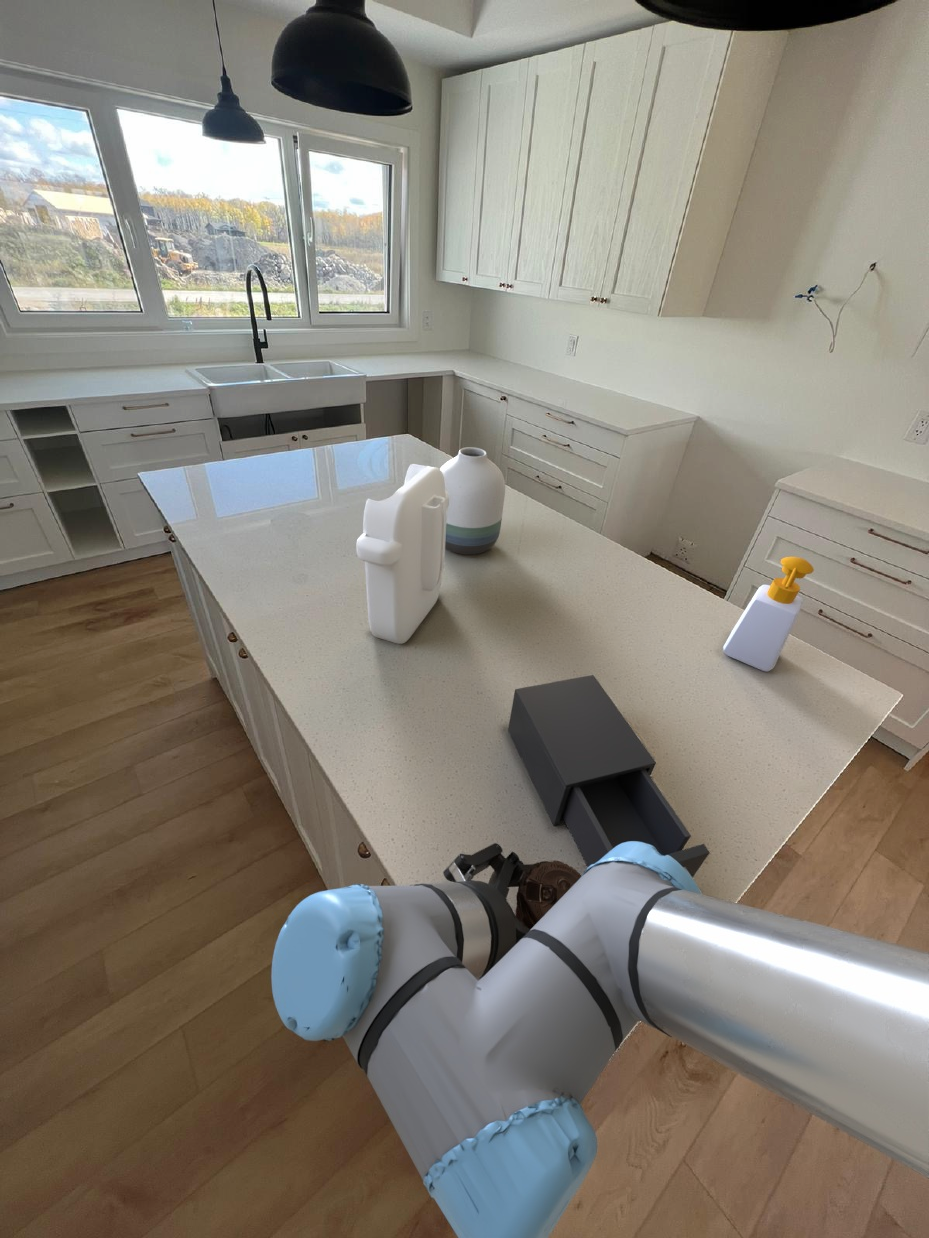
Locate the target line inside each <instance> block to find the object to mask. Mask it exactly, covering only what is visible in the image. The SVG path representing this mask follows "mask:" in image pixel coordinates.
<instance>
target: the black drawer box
mask: <svg viewBox="0 0 929 1238" xmlns="http://www.w3.org/2000/svg"><path fill="white" fill-rule="evenodd" d="M512 699H513V700H512V705H511V710H510V716H509V721H508V727H507V731H508V734H509V736H510V738H511V740H512V743H513V744H514V746H515V748H516V751H517V752H518V754H519V756H520V759H521V762H522V763H523V765H524V767H525V769H526V771H527V773H528V776H529V777H530V780H531V782H532V783H533V786H534V788H535V790H536V792H537V794H538V796H539V799H540V801H541V803H542V805H543V807H544V809H545V811H546V813H547V815H548V817H549V820H550V821H551V823H552V826H553V827H554V826H559V825H563V824H566V823H565V821H564V819H563V817H562V812H563V809H564V806H565V803H566V800H567V797H568V794H569V791H570V787H574V786H578V785H582V784H586V783H590V782H594V781H598V780H602V779H606V778H610V777H614V776H618V775H622V774H626V773H630V772H634V771H638V770H642V769H646V771H647V772H648V774H649V775H650V777H651V776H652V774H653V772H654V770H655V767H656V765H657V762H656V760H655V759H654V758H653V756H652V755H651V753H650V752H649V750H648V749H647V748H646V746H645V745H644V743H643V741H641V739H640V737H639V736H638V735H637V734H636V732H635V731H634V729H633V728H632V727H631V725H630V724H629V723H628V721H627V719H626V718H625V717H624V715H623V714H622V712H621V710H619V708H618V707H617V706H616V704H615V703H614V701H613V700H612V699H611V697H610V696H609V694H608V693H607V691H606V690H605V689H604V687H603V686H602V684H601V683H600V682H599V680H598V679H597V678H596V676H595V675H594V674H589V675H583V676H580V677H574V678H567V679H563V680H556V681H552V682H547V683H541V684H537V685H530V686H526V687H520V688H515V689H514V694H513V698H512Z"/></svg>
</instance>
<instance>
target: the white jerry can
mask: <svg viewBox="0 0 929 1238" xmlns="http://www.w3.org/2000/svg"><path fill="white" fill-rule="evenodd" d="M448 506H449V494H448V492H447V491H446V490H445V480H444V476H443V473H442V471H441V470H440V468H438V467H436V466H429V465H424V464H423V465H422V464H416V463H410V465H409V466H408V468H407V470H406V473H405V478H404V484H403V485H401V487H399V488H398V489H397V490H396V491H394V493H393V494H392V495H391V496H390V497H387V498H384V499H381V500H374V499H371V498H366V502H365V505H364V510H363V519H362V534H361V535H360V536H359V537H358V538H357V539H356V544H355V545H356V547H355V548H356V555H357V557H358V559H360V561H362V562H364V573H365V586H366V604H367V605H366V606H367V619H368V627H369V629H370V632H371V634H372V635H373V637H375V638H377V639H379V640H380V639H381V640H383V641H387V642H391V643H394V644H396V645H397V644H398V645H403V644H405V643H406V642H407V641H409V639H410V638H411V637H412V635H413V634H414V633H415V632H416V630H417V629H418V628H419V626H420V625H421V624H422V623H423V621H424V619H425V618H426V617H427V616H428V614H429V613H430V611H431V610H432V609H433V608H434V606H435V605H436V603H437V601H438V600H439V597H440V596H439V595H440V593H441V592H440V591H441V586H442V579H443V572H444V566H445V554H446V548H445V538H446V517H447V511H446V510H447V509H448Z"/></svg>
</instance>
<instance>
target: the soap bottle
mask: <svg viewBox="0 0 929 1238" xmlns="http://www.w3.org/2000/svg"><path fill="white" fill-rule="evenodd" d="M780 564H781V565H782V568H781V572H783V574H785V576H784V577H775V578H774V579H773V580H772V582H771V584H762V585H761V586H759V587H758V589H757V590H756V591H755V593H754V595H753V597H752V598H751V600H750V601H749V603H748V604H747V606H746V608H745V609H744V611H743V613H742V614H741V616H740V618H739V619H738V620H737V622H736V623H735V625H734V627H733V629H731V632H730V634H729V636H728V638H727V639H726V641H725V643H724V645H723V647H722V649H723V653H724V654H725V655H726V656H728V657H729V658H732V659H734V660H736V661H739V662H741V663H743V664H746V665H749V666H751V667H753V668H754V669H755V668H756V669H758V670H760V671H763V672H770V671H771V670H773V669H774V668H775V666H776V664H777V662H778V659H779V658H780V655H781V654H782V651H783V649H784V647H785V644H786V642H787V640H788V638H789V636H790V634H791V631H792V629H793V627H794V624H795V623H796V621H797V619H798V616H799V614H800V611H801V608H802V606H803V598H802V597H801V596H799V595H798V594H799V592H800V590H801V586H800V585H799V584H798V583H797V582H795V581H796V579H799V580H800V579H804V578H806V575H809V574H812V573H813V572H814V570H815V569H814V567H813V565H812V564H811V563H810V562H809V561H808V560H806V559H804V558H801V557H798V556H786V557H783V558H781V559H780Z"/></svg>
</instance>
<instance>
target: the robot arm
mask: <svg viewBox="0 0 929 1238" xmlns="http://www.w3.org/2000/svg"><path fill="white" fill-rule="evenodd" d="M502 853H503V847H501V845H500V844H499V843H496V842H494V843H492V844H491V845H488V846H486V847H484V848H482V849H481V850H479V851H477V852H474V853H473V854H465V853H459V854H457V856H456V857H455V858H454V860H452V861H451V863H450V864H449V865H448V866H447V867H446V868H445V869H444V871H443V877H445V879H446V880H447V881H435V882H424V883H422V882H421V883H415V884H407V885H405V884H403V885H365V884H364V883H356V884H352V885H349V886H345V887H339V888H332V889H327V890H322V891H321V890H320V891H318V892H315V893H313V894H310V895H309V896H307V897H305V898H304V899H302V900H301V901H300V902H299V903H298V904H296V906H295V907H294V908H293V909H292V911H291V912H290V914H288V916H287V919H286V921H285V923H284V924H283V925H282V928H281V929H280V931H279V934H278V936H277V939H276V942H275V946H274V950H273V956H272V959H271V961H272V962H271V979H270V980H271V992H272V997H273V1002H274V1005H275V1009H276V1010H277V1013H278V1015H279V1018H280V1019H281V1022H282V1024H284V1026H285V1027H286V1029H288V1030H290V1031H291V1032H293V1033H294V1034H295V1035H297V1036H299V1037H300V1038H302V1039H303V1040H305V1041H309V1042H311V1041H312V1042H317V1041H318V1042H319V1041H321V1040H325V1041H326V1042H331V1041H335V1040H336V1039H340V1038H341V1037H342V1039H343V1040H344V1042H345V1043H346V1046H347V1047H348V1050H349V1051H350V1053H351V1055H352V1056H353V1058H354V1060H355V1062H356V1063H357V1065H358V1067H359V1068H360V1069H362V1070H363V1072H364V1073H365V1075H366V1077H367V1079H368V1080H369V1082H370V1084H371V1086H372V1088H373V1090H374V1092H375V1094H376V1095H377V1098H378V1100H379V1101H380V1104H381V1105H382V1107H383V1109H384V1110H385V1113H386V1114H387V1116H388V1118H389V1120H390V1121H391V1123H392V1125H393V1127H394V1129H395V1131H396V1132H397V1135H398V1137H399V1138H400V1140H401V1143H402V1144H403V1147H405V1150H406V1151H407V1153H408V1155H409V1157H410V1159H411V1161H412V1162H413V1165H414V1166H415V1168H416V1170H417V1173H418V1174H419V1176H420V1177H421V1180H422V1183H423V1186H424V1187H425V1188H426V1190H427V1192H428V1194H429V1196H430V1198H431V1199H434V1201H435V1203H436V1204H437V1206H438V1208H439V1209H440V1211H441V1212H442V1214H443V1216H444V1217H445V1219H446V1220H447V1222H448V1224H449V1226H450V1227H451V1229H452V1231H453V1232H454V1234H455V1235H456V1237H457V1238H549V1237H550V1235H551V1234H552V1232H553V1231H554V1229H555V1227H556V1226H557V1225H558V1223H559V1222H560V1220H561V1218H562V1216H563V1215H564V1213H565V1212H566V1210H567V1208H568V1207H569V1205H570V1203H571V1201H572V1199H573V1198H574V1197H575V1196H576V1194H577V1192H578V1191H579V1189H580V1187H581V1186H582V1184H583V1182H584V1180H585V1179H586V1177H587V1176H588V1173H589V1171H590V1170H591V1168H592V1166H593V1164H594V1161H595V1159H596V1157H597V1153H598V1138H597V1134H596V1131H595V1129H594V1127H593V1125H592V1124H591V1123H590V1121H589V1119H588V1118H587V1116H586V1114H585V1112H584V1107H583V1106H582V1105H581V1104H582V1103H583V1101H584V1100H585V1098H586V1096H587V1095H588V1093H589V1092H590V1091H591V1088H592V1087H593V1086H594V1085H595V1083H596V1082H597V1080H598V1078H599V1077H600V1075H601V1074H602V1072H603V1071H604V1069H605V1068H606V1067H607V1066H608V1063H609V1062H610V1060H611V1058H612V1057H613V1056H614V1055H615V1053H616V1052H617V1050H618V1049H619V1048H620V1046H621V1044H622V1043H623V1041H624V1040H625V1039H626V1038H627V1036H628V1035H629V1034H630V1033H631V1031H633V1028H635V1026H636V1025H637V1024H638V1023H639V1022H642V1023H644V1024H645V1025H647V1026H649V1027H651V1028H654V1029H656V1030H658V1031H659V1032H661V1033H663V1034H665V1035H666V1036H668V1037H670V1038H673V1039H675V1040H677V1041H678V1042H680V1043H682V1044H684V1045H686V1046H687V1047H689V1048H691V1049H693V1050H694V1051H696V1052H698V1053H700V1054H702V1055H704V1056H706V1057H708V1058H709V1059H711V1060H713V1061H715V1062H716V1063H718V1064H721V1065H722V1066H723V1067H726V1068H727V1069H729V1070H731V1071H733V1072H734V1073H736V1074H738V1075H740V1076H742V1077H744V1078H746V1079H748V1080H749V1081H751V1082H753V1083H754V1084H756V1085H758V1086H760V1087H762V1088H764V1089H766V1090H767V1091H769V1092H771V1093H773V1094H775V1095H776V1096H778V1097H780V1098H781V1099H783V1100H785V1101H787V1102H789V1103H790V1104H792V1105H795V1106H796V1107H798V1108H800V1109H802V1110H804V1111H805V1112H807V1113H809V1114H810V1115H813V1116H814V1117H815V1118H818V1119H820V1120H821V1121H824V1123H827V1124H829V1125H830V1126H832V1127H834V1128H837V1129H838V1130H840V1131H842V1132H844V1133H845V1134H847V1135H849V1136H851V1137H853V1138H855V1139H856V1140H858V1141H860V1142H862V1143H863V1144H865V1145H866V1146H869V1147H871V1148H872V1149H874V1150H876V1151H878V1152H879V1153H882V1154H883V1155H885V1156H887V1157H889V1158H890V1159H892V1160H894V1161H896V1162H898V1163H899V1164H901V1165H903V1166H905V1167H907V1168H909V1169H911V1171H914V1172H916V1173H917V1174H920V1175H921V1176H924V1177H925V1178H927V1179H929V951H925V950H921V949H918V948H913V947H909V946H906V945H902V944H898V943H893V942H890V941H886V940H882V939H879V938H874V937H870V936H867V935H862V934H858V933H856V932H855V933H854V932H851V931H847V930H843V929H840V928H836V927H832V926H828V925H824V924H821V923H820V924H819V923H815V922H812V921H808V920H805V919H801V918H797V917H792V916H788V915H784V914H781V913H777V912H773V911H770V910H765V909H762V908H757V907H753V906H749V905H745V904H742V903H737V902H734V901H729V900H726V899H723V898H718V897H714V896H710V895H708V894H704V893H703V892H702V890H701V889H700V887H699V885H698V884H697V882H696V881H695V879H694V877H693V878H692V877H691V876H690V874H689V873H688V872H687V871H686V870H685V869H684V868H683V867H682V866H681V865H680V864H679V863H678V862H677V861H676V860H675V859H673V858H672V857H671V856H669V855H666V856H663V855H661V854H660V853H659V852H658V851H657V850H656V848H655V847H654V846H652V845H650V844H646V843H643V842H638V841H628V842H624V843H621V844H619V845H617V846H616V847H614V848H613V849H612V850H611V851H610V852H608V853H607V854H606V855H605V856H604V857H603V858H601V859H600V860H599V861H598V862H596V863H595V864H592V865H590V866H589V867H587V868H586V869H585V870H584V872H583V873H582V874H581V875H582V876H581V877H580V879H579V880H578V881H577V882H576V883H575V884H574V885H573V886H572V887H571V888H570V889H569V890H568V891H567V892H566V893H565V894H564V896H563V897H562V898H561V899H560V900H559V901H558V902H557V903H556V904H555V905H554V906H553V907H552V908H551V909H550V910H549V911H548V912H547V913H546V914H545V915H544V916H543V917H542V918H541V919H540V920H539V921H538V922H537V923H536V925H535V926H534V927H533V928H532V929H531V930H530V929H529V928H527V927H525V926H523V923H522V922H520V921H519V920H518V918H517V917H516V913H515V912H514V910H513V908H512V906H511V905H510V903H509V902H508V899H507V898H508V894H509V891H510V888H518V884H517V881H518V880H519V879H520V877H521V874H522V873H523V870H524V869H526V868H527V867H528V866H530V865H532V864H533V863H524V862H523V861H522V860H521V858H520V857H519V855H518V854H517V853H516V852H515V851H511V852H510V853H508V855H507V856H506V857H505V856H504V855H503V854H502ZM489 867H490V868H491V869H492V870H493V871H492V874H491V876H490V878H489V881H488V882H485V881H481V880H473V878H475V876H476V875H478V874H480V873H481V872H483V871H484V870H487V869H488V868H489ZM698 887H699V888H698ZM700 890H701V891H700ZM701 892H702V893H703V894H702V893H701Z"/></svg>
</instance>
